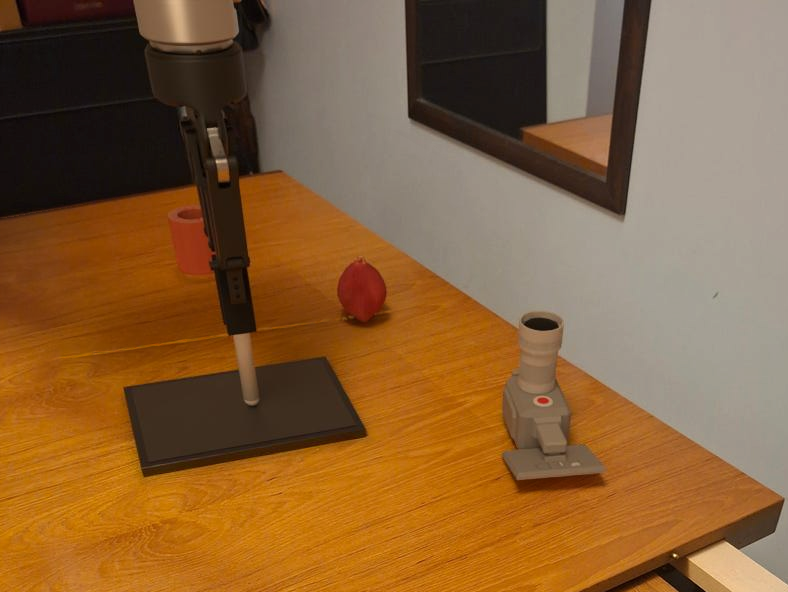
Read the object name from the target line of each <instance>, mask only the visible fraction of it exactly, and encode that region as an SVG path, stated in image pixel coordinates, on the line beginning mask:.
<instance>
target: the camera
mask: <svg viewBox="0 0 788 592" xmlns="http://www.w3.org/2000/svg"><path fill="white" fill-rule="evenodd" d="M564 327H565V320H564V318H563V317H562V316H560V315H558V314H557V313H555V312H551V311H547V310H531V311H528V312H527V311H526V312H525V313H523V314H521V316H520V317H519V319H518V332H517V333H518V334H517V346H518V347H519V358H518V369H513V370H512V371H511V376H510V377H509V378H508V379H507V380H506V381H505V386H503V389H502V401H501V402H502V403H501V410H502V411H501V413H502V417H503V420H504V421H505V422H504V423H505V425H506V428H507V430H508V432H509V433H508V434H509V435H510V438H511V439H512V440H513V441H514V445H515V447H516V449H508V450H503V451H502V452H501V458H502V460H504V463H505V465H507V467H508V469H509V470H510V472H511V473H512V475H513V477H514V478H515V480H516V481H520V480H521V481H522V480H533V479H545V478H558V477H570V476H580V475H581V476H583V475H593V474H605V473H607V471H608V470H607V468H606V465H604V464H603V462H602V461H601V460H600V459H599V458H598V457H597V456H596V454H595V453H594V452H593V451H592V450H591V449H590V448H589V447H588V446H587V445H586V444H583V443H582V444H573V445H569V437H570V428H571V422H572V421H571V420H572V413H573V412H572V409H571V407H570V405H569V403H568V401H567V399H566V396H565V394H564V393H563V390H562V388H561V386H560V383H559V382H558V380H557V378H556V374H557V364H558V357H559V356H558V354H559V351H560V350H561V349H562V344H563V336H564Z"/></svg>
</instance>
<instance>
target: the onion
mask: <svg viewBox="0 0 788 592" xmlns="http://www.w3.org/2000/svg"><path fill="white" fill-rule="evenodd" d="M356 257H357V258H356V259H355V260H354V261H353V262H351V263H349V265H348V266H347V267H345V268H344V270H343V271H342V273H341V275H340V276H339V279H338V283H337V287H336V291H337V293H336V294H337V298H338V301H339V303H340V304H341V306H342V307H343V309H344V310H345V312H347V313H348V314H349V315H351V316H352V317H354V318H355V319H357V320H358V321H359V322H361V323H366V322H368V321H370V320H371V318H373V316H375V315H376V314H377V313H378V312H379V311H380V310H381V309H382V307H384V304H385V302H386V299H387V295H388V293H387V285H386V282H385V279H384V278H383V276H382V275H381V273H380V271H378V269H377V268H376V267H375V266H373V265H372V264H370V263H369V262H367V261H366V259H365V256H364V255H358V256H356Z"/></svg>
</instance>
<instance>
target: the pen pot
mask: <svg viewBox="0 0 788 592" xmlns="http://www.w3.org/2000/svg"><path fill="white" fill-rule="evenodd" d="M167 221H168V226H169V231H170V236H171V240H172V246H173V252H174V256H175V261H176V264H177V268H178V270H179V271H180V272H182V273H184V274H187V275H191V276H205V275H211V274H214V270H213V271H211V269H210V266H209V261H212V258H211V255H214V254H216V252H211V249H210V248H209V246H208V242H209V238H208V237H207V236H206V235H205V234H204V229H203V228H204V223H203V218H202V212H201V207H200V205H199V204H198V205H197V204H191V205H184V206H179V207H176V208H175V207H174V208H173V209H172V210H170V211H169V212H168V213H167Z"/></svg>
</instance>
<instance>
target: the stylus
mask: <svg viewBox="0 0 788 592" xmlns="http://www.w3.org/2000/svg"><path fill="white" fill-rule="evenodd" d="M232 336H233V343H234V350H235V355H236V361H237V367H238V369H239V374H240V380H241V386H242V392H243V398H244V401H245V402H246V403H247V404H248V405H256V404H257V403H258V402H259V391H258V385H257V378H256V371H255V367H256V366H255V365H256V364H255V359H254V358H255V357H254V353H253V346H252V339H251V333H246V334H239V335H232Z"/></svg>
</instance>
